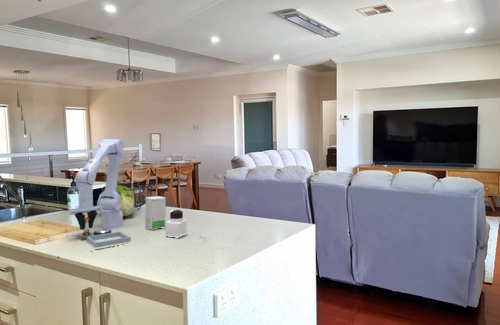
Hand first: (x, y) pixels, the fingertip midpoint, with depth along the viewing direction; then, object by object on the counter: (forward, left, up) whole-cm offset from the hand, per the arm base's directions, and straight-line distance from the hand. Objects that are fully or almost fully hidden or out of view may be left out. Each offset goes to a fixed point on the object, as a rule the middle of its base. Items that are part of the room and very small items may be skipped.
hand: (86, 228), depth 170 cm
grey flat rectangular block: (-3, 0, -5) cm, 6 cm away
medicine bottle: (-34, +18, -5) cm, 39 cm away
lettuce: (-29, -38, -5) cm, 48 cm away
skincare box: (-33, -1, -5) cm, 34 cm away
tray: (-5, +12, -5) cm, 14 cm away
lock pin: (0, 0, -3) cm, 3 cm away
